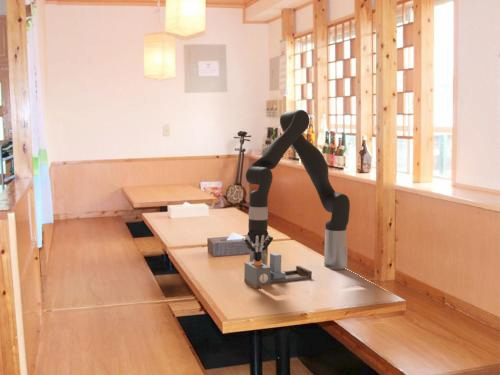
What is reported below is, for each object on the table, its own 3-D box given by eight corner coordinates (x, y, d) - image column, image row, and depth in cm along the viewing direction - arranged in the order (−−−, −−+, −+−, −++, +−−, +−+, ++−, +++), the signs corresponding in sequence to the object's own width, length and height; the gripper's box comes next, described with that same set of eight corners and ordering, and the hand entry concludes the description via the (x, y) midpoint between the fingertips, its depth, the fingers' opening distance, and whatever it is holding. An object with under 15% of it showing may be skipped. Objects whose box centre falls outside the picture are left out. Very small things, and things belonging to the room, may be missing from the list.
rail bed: (298, 275, 270) (298, 265, 270) (312, 282, 260) (312, 271, 260) (244, 282, 260) (244, 271, 259) (256, 289, 250) (256, 277, 249)
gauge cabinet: (257, 276, 262) (258, 261, 261) (270, 284, 252) (271, 267, 251) (244, 278, 259) (244, 262, 259) (256, 285, 249) (257, 269, 248)
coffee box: (253, 268, 282) (253, 231, 280) (267, 268, 281) (268, 232, 279) (249, 273, 273) (249, 235, 271) (263, 274, 272) (264, 236, 270)
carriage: (276, 275, 264) (276, 251, 263) (285, 280, 257) (286, 255, 255) (265, 276, 262) (265, 252, 260) (274, 281, 254) (274, 256, 253)
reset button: (259, 266, 257) (259, 259, 257) (262, 268, 254) (262, 261, 254) (251, 267, 256) (252, 260, 255) (255, 269, 253) (255, 262, 253)
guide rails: (295, 272, 269) (295, 270, 269) (308, 279, 260) (308, 276, 260) (258, 277, 262) (258, 274, 262) (270, 283, 252) (270, 280, 252)
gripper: (268, 215, 259) (267, 257, 261) (238, 216, 253) (238, 260, 255) (277, 218, 252) (276, 261, 254) (247, 220, 246) (246, 264, 249)
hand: (257, 260), depth 255 cm, fingers closed
